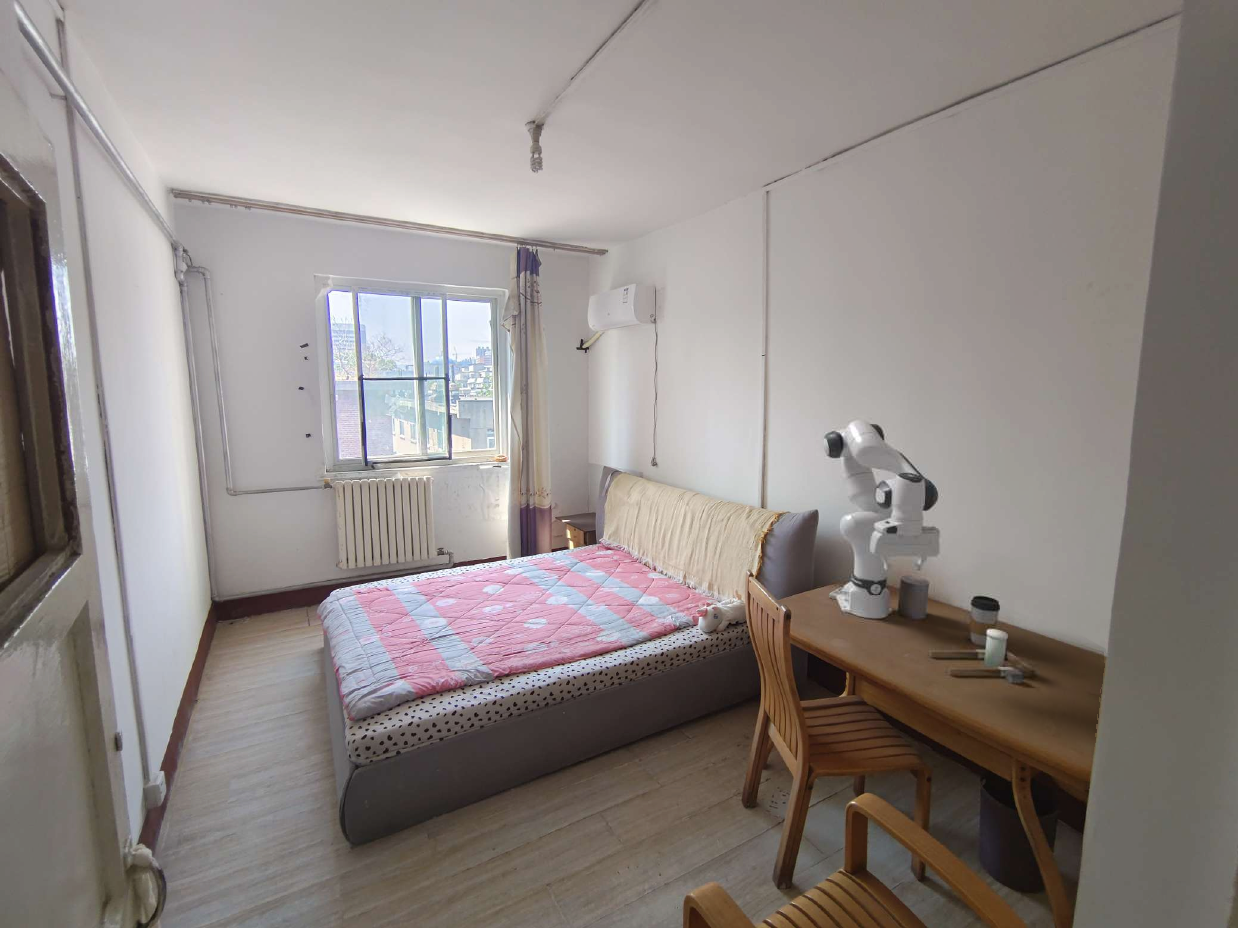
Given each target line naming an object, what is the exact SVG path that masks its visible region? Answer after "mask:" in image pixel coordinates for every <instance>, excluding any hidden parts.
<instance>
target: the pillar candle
mask: <svg viewBox="0 0 1238 928" xmlns="http://www.w3.org/2000/svg"><path fill="white" fill-rule="evenodd" d="M929 586H930V581H929V580H928V579H927V578H926V577H922V576H919V575H913V574H912V575H911V574H907V575H905V574H904V575H901V576H900V581H899V590H898V592H899V593H898V601H897V610H896V612H897V613H898V614H899V615H900V616H903V617H904V618H907V619H912V620H923V619H925V618H926V615H927V607H928V606H927V605H928V596H929V588H930V587H929Z"/></svg>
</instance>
